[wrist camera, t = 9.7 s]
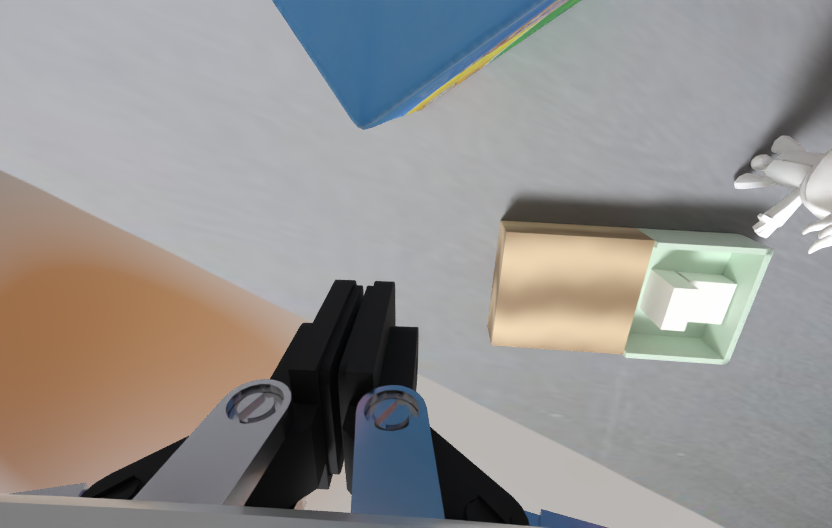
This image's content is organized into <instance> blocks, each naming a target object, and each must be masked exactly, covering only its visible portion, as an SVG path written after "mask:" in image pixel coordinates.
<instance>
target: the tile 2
mask: <svg viewBox="0 0 832 528" xmlns="http://www.w3.org/2000/svg"><path fill="white" fill-rule="evenodd" d="M677 274H679V275H680V276H681V277H683V278H684V279H686V280H687V281H688V282H690V283H691V284H692V285H694V286H695V287H696V288H698V289H699V291H698V294H697V297H696V300H695V303H694V305H693V308H692V311H691V314H690V317H689V320H688V322H697V323H709V324H722V321H723V319H724V316H725V314H726V311H727V309H728V306H729V304H730V301H731V299H732V296H733V294H734V291H735V289H736V286H737V284H736V283H734V282H733V281H731V280H730V279H728V278H726V277H725V276H723V275H715V274H703V273H690V272H677Z"/></svg>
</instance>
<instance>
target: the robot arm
mask: <svg viewBox="0 0 832 528" xmlns="http://www.w3.org/2000/svg"><path fill="white" fill-rule="evenodd" d="M417 369H418V327H398V326H395V282H384V281H375V283H374V286H367V289H366V291H365V294H364V295H363V286H359V285H357V284H356V281H355V280H335V282H334V283H333V285H332V287H331V289H330V291H329V293H328V295H327V297H326V299H325V301H324V303H323V304H322V306H321V308H320V310H319V312H318V314H317V316H316V318H315V320H314V322H313V323H303V324H302V325H301V326H300V327H299V329H298V331H297V333H296V335H295V336H294V338H293V340H292V342H291V343H290V345H289V347H288V348H287V350H286V352H285V354H284V356H283V357H282V359H281V361H280V362H279V364H278V366H277V368H276V370H275V371H274V373H273V375H272V376H271V378H270V380H269V379H263V380H256V381H251V382H248V383H245V384H243V385H241V386H239V387H237V388H235V389H234V390H232V391H231V392H230V393H229V394H227V395H226V396H225V397H224V398H223V399H222V400H221V402H220V403H219V404H218V405H217V406H216V407H215V408H214V409H213V411H211V413H210V414H209V415H208V416H207V417H206V418H205V419H204V421H202V423H201V424H200V425H199V426H198V427H197V428H196V429H195V431H194V432H193V433H192V434H191V435H190V436H188V437H186V438H183V439H181V440H179V441H177V442H176V443H173V444H171V445H169V446H167V447H165V448H163V449H161V450H159V451H157V452H155V453H153V454H151V455H148V456H146V457H144V458H142V459H140V460H138V461H137V462H134V463H132V464H130V465H128V466H126V467H124V468H122V469H120V470H118V471H116V472H113V473H112V474H110V475H108V476H106V477H105V478H103V479H101V480H99V481H98V482H96V483H95V484H94V485H92V486H91V487H90V488H89V487H88V485H87V483H81V484H74V485H67V486H60V487H54V488H47V489H40V490H34V491H26V492H19V493H12V494H0V528H607V527H603V526H600V525H596V524H593V523H589V522H585V521H581V520H578V519H574V518H571V517H567V516H564V515H560V514H557V513H553V512H550V511H546V510H542V509H541V512H540V515H537V514H534V513H530V512H527V511H524V510H523V508H522V507H521V506H520V504H519V503H518V502H517V501H516V500H515V499H514V498H513V497H512V496H511V495H510V494H509V493H507V492H506V491H505V490H504V489H503V488H502V487H500V486H499V485H498V484H497V483H496V482H495V481H493V480H492V479H491V478H490V477H489V476H487V475H486V474H485V473H484V472H483V471H482V470H480V469H479V468H478V467H477V466H476V465H474V464H473V463H472V462H471V461H470V460H469V459H467V458H466V457H465V456H464V455H463V454H461V453H460V452H459V451H458V450H457V449H456V448H454V447H453V446H452V445H451V444H450V443H449V442H447V441H446V440H445V439H444V438H442V437H441V436H440V435H439V434H438V433H437V432H436V431H434V430H433V429H432V428H431V427H430V425H429V419H428V413H427V407H426V404H425V402H424V399H423V398H422V397H421V396H420V395H419V394H418V393H417V392H416V386H417ZM344 461H345V472H346V482H347V490H348V491H349V492H350V493H351V495H352V501H351V513H343V512H328V511H312V510H304V509H305V506H306V496H307V495H308V494H310V493H311V492H313V491H314V490H316V489H329V486H330V483H331V479H332V475H333V474H340V472H341V469H342V466H343V462H344Z"/></svg>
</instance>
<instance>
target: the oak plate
mask: <svg viewBox="0 0 832 528" xmlns="http://www.w3.org/2000/svg"><path fill="white" fill-rule="evenodd" d="M654 243H655V240H653V239H652V238H650V237H649V236H647V235H646V234H644V233H643V232H641V231H640V230H638V229H637V228H626V227H609V226H591V225H574V224H556V223H539V222H521V221H504V220H501V222H500V230H499V238H498V246H497V254H496V262H495V270H494V278H493V286H492V294H491V302H490V309H489V317H488V325H487V326H488V331H489V336H490V341H491V345H496V346H510V347H524V348H539V349H553V350H567V351H582V352H596V353H611V354H623V353H624V349H625V346H626V342H627V339H628V335H629V331H630V328H631V324H632V321H633V317H634V314H635V310H636V307H637V303H638V300H639V296H640V293H641V289H642V285H643V282H644V278H645V275H646V271H647V268H648V264H649V261H650V257H651V254H652V250H653V246H654Z"/></svg>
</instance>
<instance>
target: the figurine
mask: <svg viewBox="0 0 832 528" xmlns="http://www.w3.org/2000/svg"><path fill="white" fill-rule="evenodd" d="M771 150H772V152H774V153H780V155H779V156H777V157H776V159H783V160H782V161H781V160H772V158H771V157H770V156H768V155H758V156H755V157H754V158H753V159H752V161H751V167H752V169H754V170H755V171H764V170H765V172H764V174H765V175H766V176H760V175H755V174H750V173H745V174H743V175H741V176H739V177H738V178H737V179H736V181H735V182H734V185H735V189H748V188H759V187H769V186H772V185H776V184H779V185H781V186H785V187H788V188H791V189H795V191H794V192H792V193H791V194H790V195H788V196H787V197H786V198H784V199H783V200H782V201H780V202H779V203H777V204H776V205H775V206H774V207H772V208H771V209H770V210H768V211H766V212H765V213H764V214H761V213H760V214H759V215H758V216H757V217H758V218H759V220H760V221H759V222H758V223H756V224H755V225H754V226H753V227H752V228H753V229H754V231H755V232H756V234H757V235H759V236H761V237H763V238H768V237H769V236H770V234H771V233H772V232H773V231H774V230H775V229H776V228H778V227H781V226H782V225H783V224H785V222H786V221H787V219H788V218H789V217H790V216H791V215H792V214H793V213H794V212H795V210H796V209H797V208H798V207H799V206H800V205H801V204H802V203H803V204H804V205H805V206H806V207H807V208H808V209H809V210H810V211H811V212H812V213H813V214H814V215H815V216H816V217H817V218H819V219H820V221H817V222H815V223H812V224H810V225H808V226H806V227H805V228H804V229H803V230H802V234H803V235H804V234H806V233H808V232H811V231H817V230H821V231H820V232H819V234H818V238H819V240H817V241H816V242H814V243H813V244H812V245H811V247H810V248H809V250H808V253H809V254H811V253H813V252H815V251H816V250H818V249H820V248H824V247H828V246H832V149H831V150H830V151H828V152H827V153H826V154H821V153H814V152H806V151H805V148H804V147H803V146H802V145H800V144H799V143H797V142H796V141H795V140H793V139H792V138H791V137H789V136H783V135H782V136H780V137H779V138H778V139H776V140H775V141H774V143H773V146H772V148H771Z"/></svg>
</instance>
